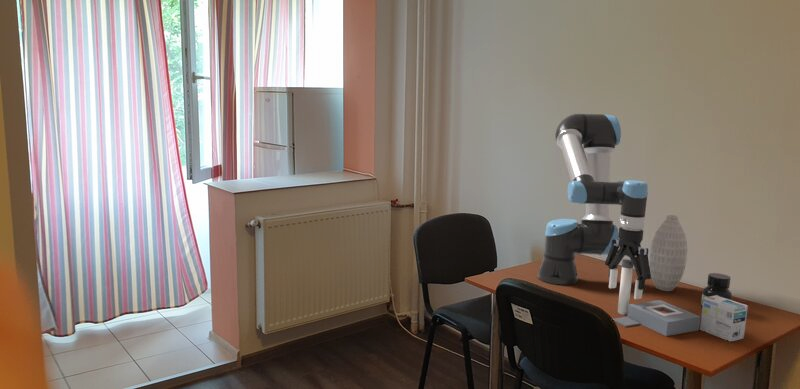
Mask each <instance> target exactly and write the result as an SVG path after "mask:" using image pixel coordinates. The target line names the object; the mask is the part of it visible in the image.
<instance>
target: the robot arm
mask: <svg viewBox="0 0 800 389" xmlns="http://www.w3.org/2000/svg"><path fill="white" fill-rule="evenodd" d="M554 135H555V136H554V138H555V142H556V145H557V147H558V148H559V149H560V150H561V152H562V156H563V159H564V162H565V166H566V169H567V172H568V175H569V178H570V179H569V180H570V181H569V183H568V185H567V191H566V192H567V198H568V201H569V202H570V203H574V204H580V205H583V204H585V215H584V216H583V217H582V218H581V222H580V223H579V221H578V220H577V219H572V218H558V219H553V220H551V221H548V222H547V224H546V227H545V232H544V234H545V237H544V249H543V251H544V252H543V259H542V262H541V264H540V267H539V269H538V271H537V278H538V280H540V281H543V282H546V283H548V284H554V285H562V286H563V285H564V286H565V285H566V286H567V285H574V284H576V283H578V281H579V279H578V278H579V275H578V270H577V265H576V263H575V258H576V255H595V256H596V255H597V256H602V255H605V256H606V259H605V262H604V265H605V266H607V267H608V270H609V271H608V277H609V282H608V288H609V289H616V288H617V283H618V276H619V274H618V273H619V269H618V268H619V267H618V266H619V264H620V263H621V262H622V260H624V257H625V256H626V257H628V258H629V260H632V262H633V269H634V270H635V273H636V277H637V278H635V284H634V296H633V299H634V300H641V299H642V298H643V293H644V292H643V291H644V289H645V286H646V280H652V277H651V273H650V264H649V260H650V259H649V248H647V247H642V245H641V244H642V241H643V240H644V230H643V229H644V228H645V220H646V219H645V218H646V208H647V200H648V195H649V192H648V190H649V189H648V187H649V185H648V183H647V182H646V181H642V180H635V179H628V180H625V181H621V180H617V181H613V182H611V155H612V153H613V152H614V151H615V149H616V146H618V145H619V144H620V143H621V138H622V129H621V125H620V121H619V120H618V118H617V117H616V116H615V115H612V114H611V115H609V114H600V113H599V114H595V113H594V114H593V113H591V114H589V113H574V114H570V115H569V116H567V117H565V118H563V120H562V121H561V122H560V123H559V124H558V125H557V128H556V130H555V134H554ZM586 154H587V155H586ZM610 205H614V206H615V205H616V206H617V205H618V206H620V215H619V216H620V217H619V226H620V227H619V228H618V226H617V225H615V224H614V220H613V219H612V218H611V217H610Z"/></svg>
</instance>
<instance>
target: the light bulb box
mask: <svg viewBox="0 0 800 389" xmlns="http://www.w3.org/2000/svg"><path fill="white" fill-rule="evenodd" d="M701 308H702V307H701ZM748 308H749V306H748V305H747V304H744V303H741V302H738V301H735V300H733V299H731V300H729V299H726V298H723V297H720V296H717V295H715V296H710V297H704V299H703V308H702V310H701V316H700V317H701V318H700V326H699V330H700V331H702V332H704V331H705V332H704V333H707V334H710V335H712V336H715V337H718V338H720V339H723V340H725V341H727V340H728V342H731V341H732V342H735V341H738V340H743V339H744V338H745V331H746V325H747V324H746V322H747V315H748Z"/></svg>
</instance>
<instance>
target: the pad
mask: <svg viewBox="0 0 800 389" xmlns="http://www.w3.org/2000/svg"><path fill="white" fill-rule="evenodd" d="M612 319H613V320H614V321H615V323H616V324H618V325H620V326H623V327H624V328H627V327H633V326H639V325H641V324H640V323H639V322H637V321H634V320H632V319H630V318H628V317H627V316H622V317H615V318H612ZM614 321H613V322H614Z"/></svg>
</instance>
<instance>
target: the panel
mask: <svg viewBox="0 0 800 389" xmlns="http://www.w3.org/2000/svg"><path fill="white" fill-rule="evenodd" d="M659 311H665V312H668V313H665V314H664V313H662V312H659ZM626 317H628V318H630V319H632V320H634V321H637V322H639V323H640V325H641V326H643V327H646V328H648V329H649V330H652V331H654V332H656V333H658V334H660V335H663V336H664V337H669V336H675V335H680V334H686V333H691V332H697V331H699V330H700V325H701V316H700V315H698V314H695V313H693V312H691V311H688V310H685V309H683V308H681V307H678V306H675V305H673V304H671V303H668V302H666V301H664V300H662V299H660V300H659V299H658V300H652V301H646V302H645V301H643V302H638V303H629V305H628V314H627V315H626Z"/></svg>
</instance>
